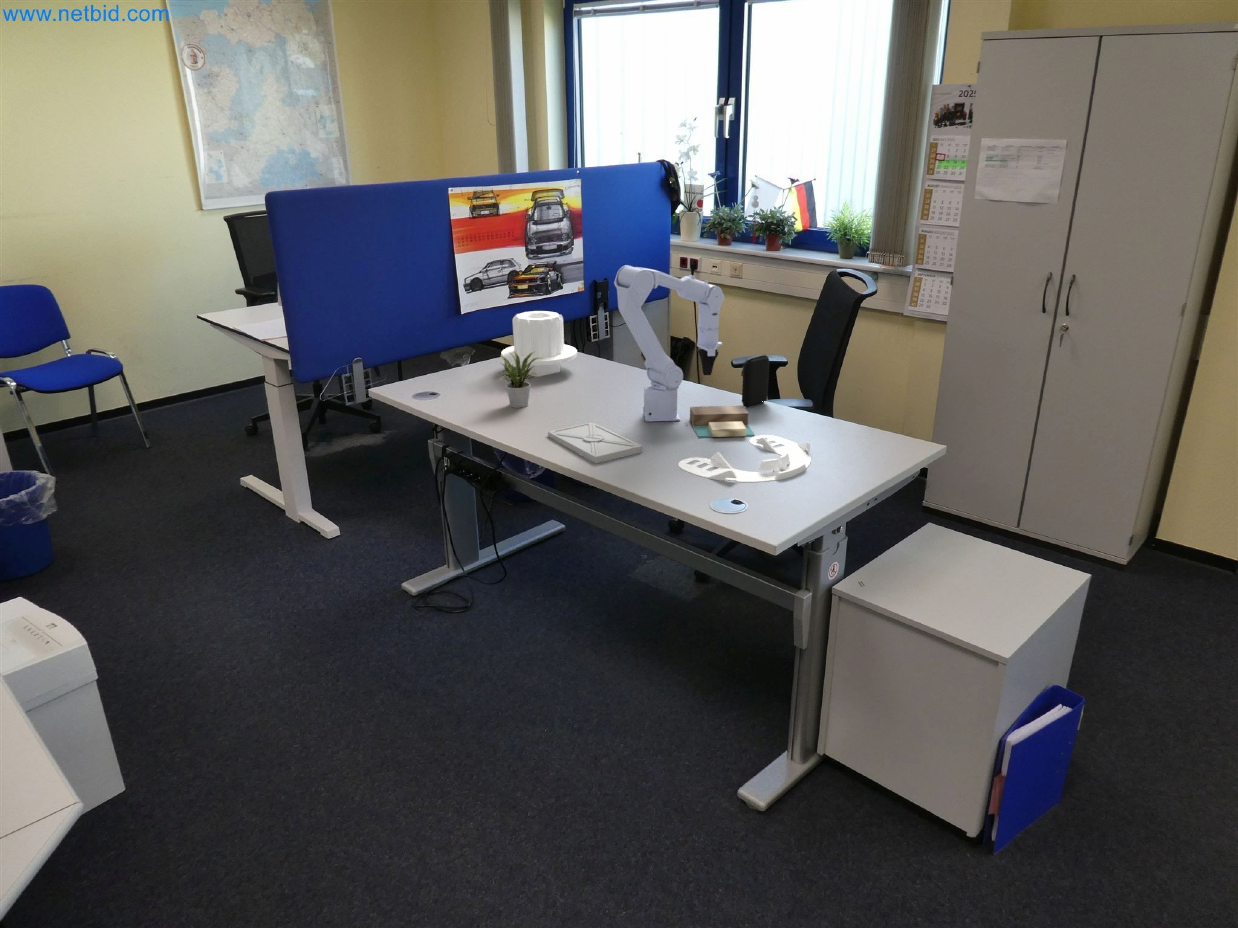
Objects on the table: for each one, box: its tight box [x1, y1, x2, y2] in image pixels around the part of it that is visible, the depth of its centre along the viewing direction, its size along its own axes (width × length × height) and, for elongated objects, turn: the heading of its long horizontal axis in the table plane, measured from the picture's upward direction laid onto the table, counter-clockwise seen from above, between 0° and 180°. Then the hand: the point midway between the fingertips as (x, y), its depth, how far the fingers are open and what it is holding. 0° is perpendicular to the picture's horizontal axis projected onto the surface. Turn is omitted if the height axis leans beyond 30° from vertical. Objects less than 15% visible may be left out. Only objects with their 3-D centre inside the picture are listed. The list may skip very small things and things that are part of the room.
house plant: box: [496, 351, 540, 409], centre depth 250 cm, size 14×14×16 cm
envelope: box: [547, 422, 643, 464], centre depth 222 cm, size 24×2×14 cm
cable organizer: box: [678, 434, 812, 483], centre depth 209 cm, size 35×24×3 cm
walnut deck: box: [689, 404, 749, 428], centre depth 237 cm, size 15×7×4 cm, turn 94°
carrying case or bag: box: [740, 354, 770, 409], centre depth 248 cm, size 11×3×15 cm, turn 128°
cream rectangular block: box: [709, 421, 747, 438], centre depth 228 cm, size 9×6×2 cm, turn 94°
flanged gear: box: [500, 310, 578, 378], centre depth 283 cm, size 25×25×19 cm
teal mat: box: [693, 424, 755, 438], centre depth 230 cm, size 15×8×1 cm, turn 94°
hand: (707, 374), depth 245 cm, fingers closed
